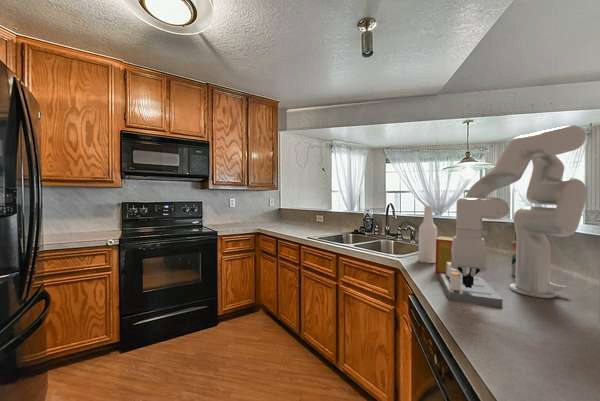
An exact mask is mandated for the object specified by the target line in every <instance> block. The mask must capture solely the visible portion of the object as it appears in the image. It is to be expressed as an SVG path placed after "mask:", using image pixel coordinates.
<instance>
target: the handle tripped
mask: <svg viewBox="0 0 600 401" xmlns="http://www.w3.org/2000/svg"><path fill="white" fill-rule="evenodd" d="M450 287H451V289H452V290H457V291H460V289H461V274H459V272H450Z"/></svg>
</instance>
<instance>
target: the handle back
mask: <svg viewBox="0 0 600 401" xmlns="http://www.w3.org/2000/svg"><path fill="white" fill-rule="evenodd" d="M450 265H451V262H447V265H446V274H447V276H448V277H450Z"/></svg>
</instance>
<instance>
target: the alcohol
mask: <svg viewBox="0 0 600 401" xmlns="http://www.w3.org/2000/svg"><path fill="white" fill-rule="evenodd" d="M423 207H424V211H423V220H422V222H421V224H420V226H419V228H418V256H417V257H418V261H419V260H420V261H422V262H421V263H423V262H425V263H424V264H429V263H433V264H436V239H437V238H438V227H437V226H436V224H435V223H434V216H433V205H424V206H423ZM420 261H419V262H420Z"/></svg>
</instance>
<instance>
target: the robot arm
mask: <svg viewBox="0 0 600 401" xmlns="http://www.w3.org/2000/svg"><path fill="white" fill-rule="evenodd" d="M586 139H587V135H586V131H585V129H584V128H582V127H581V126H578V125H573V124H571V125H566V126H561V127H560V126H559V127H556V128H551V129H546V130H541V131H537V132H533V133H529V134H524V135H519V136H516V137H514V138H511V140H510V141H509V142H508V143H507V145H506V147H505V148H504V150H503V152H502V154H501V155H500V158H498V160H497V162H496V164H495V166H494V167H493V168H492V170H491V171H489V172H487V174H485V175H483V177H481V178H480V179H479V180H477V181H476V182H475V183H474V184H473V185H472V186H471V187H470V188H469V190H468V191H467V193H466V194H465V196H464V197H460V198H458V199H457V200H456V215H455V216H456V218H455V220H456V222H455V224H456V225H455V227H456V228H455V236H452V238H453V240H452V246H451V265H450V267H451V268H453V269H456V270H459V271H460V273H461V274H462V275H463V277H462V283H463V284H464V285H465V287H466V288H468V287H469V288H472V285H473V280H474V277H476V275H477V274H479V273H482V272H487V271H488V269H487V264H488V258H487V256H488V255H487V247H486V242H485V241H486V240H485V238H484V237H483V236H487V235H488V232H487V231H486V230H483V219H484V220H485V219H486V220H500V219H503V218H505V217H506V216H507V215H508V213H509V210H510V207H509V204H508V202H507V201H505V200H504V199H502V198H500V197H490V196H489V195H490V194H491V193H493V192H495V191H497V190H499V189H502V188H504V187H507V186H509V185H510V186H511V185H512V184H514V183H516V182H518V181H519V180H521V178H522V177H523V175H524V173H525V171H526V169H527V168H528V166H529V164H530V162H532V171H531V176H530V179H529V183H528V186H527V190H526V194H525V195H526V196H525V197H526V200H527V202H529V203H531V204H534V205H539V206H526V207H521V208H519V209H518V210H516V211H515V212H514V214H513V225H514V229H515V232H516V275H515V276H514V277H515V279H514V280H515V282H513V283H510V284H509V288H510V290H511V291H513V292H515V293H517V294H522V295H524V296H529V297H533V298H539V299H552V298H555V297H556V291H558V292H568V286H566V285H560V284H557V283H553V282H551V280H550V278H551V277H550V275H551V252H552V250H551V243H550V240H548V237H547V236H546V235H549V236H554V237H555V236H556V237H569V236H570V237H571V236H572V235H573V234H575V233H576V231H577V229H578V228H579V225H580V222H581V218H582V215H583V211H584V208H585V204H586V200H587V196H588V195H587V194H588V193H587V187H586V185H585V183H584V182H583V181H582V180H580V179H578V178H573V177H563V176H564V172H565V165H564V163H563V162H562V160H561V159H560V158H559V157H558V155H562V154H565V153H569V152H574V151H576V150H578V149H580V148H581V147H582V146H583V145H584V144H585V141H586ZM540 205H541V206H540ZM543 206H556V207H543ZM467 268H469V270H468V271H467Z"/></svg>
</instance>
